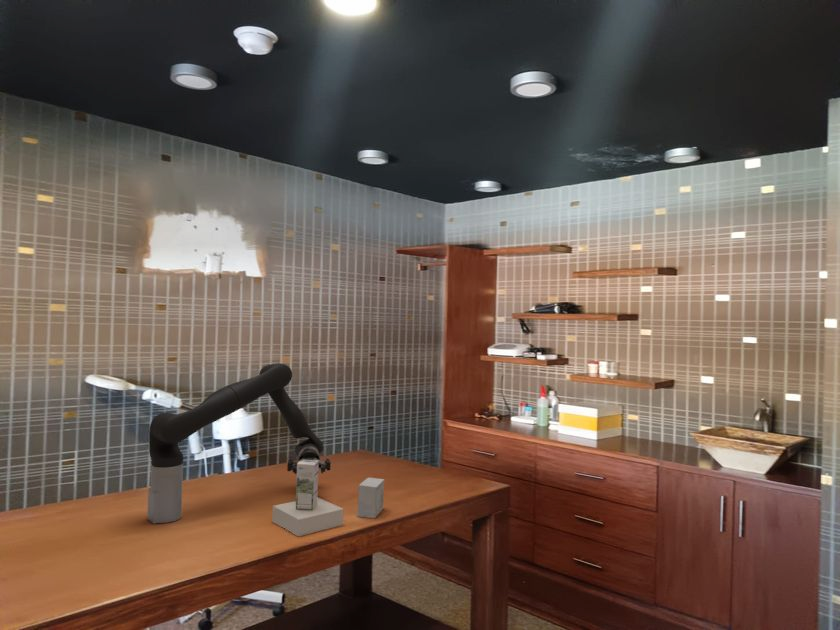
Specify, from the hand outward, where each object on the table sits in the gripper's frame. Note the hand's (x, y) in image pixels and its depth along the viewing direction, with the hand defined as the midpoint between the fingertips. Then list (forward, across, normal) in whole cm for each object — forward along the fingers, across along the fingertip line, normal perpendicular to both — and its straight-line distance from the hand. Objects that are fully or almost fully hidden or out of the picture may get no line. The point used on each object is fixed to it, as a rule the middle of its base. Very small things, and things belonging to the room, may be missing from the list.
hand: (309, 470), depth 186 cm
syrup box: (+6, 0, +10) cm, 12 cm away
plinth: (+6, 0, +15) cm, 16 cm away
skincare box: (-2, +21, +15) cm, 26 cm away
